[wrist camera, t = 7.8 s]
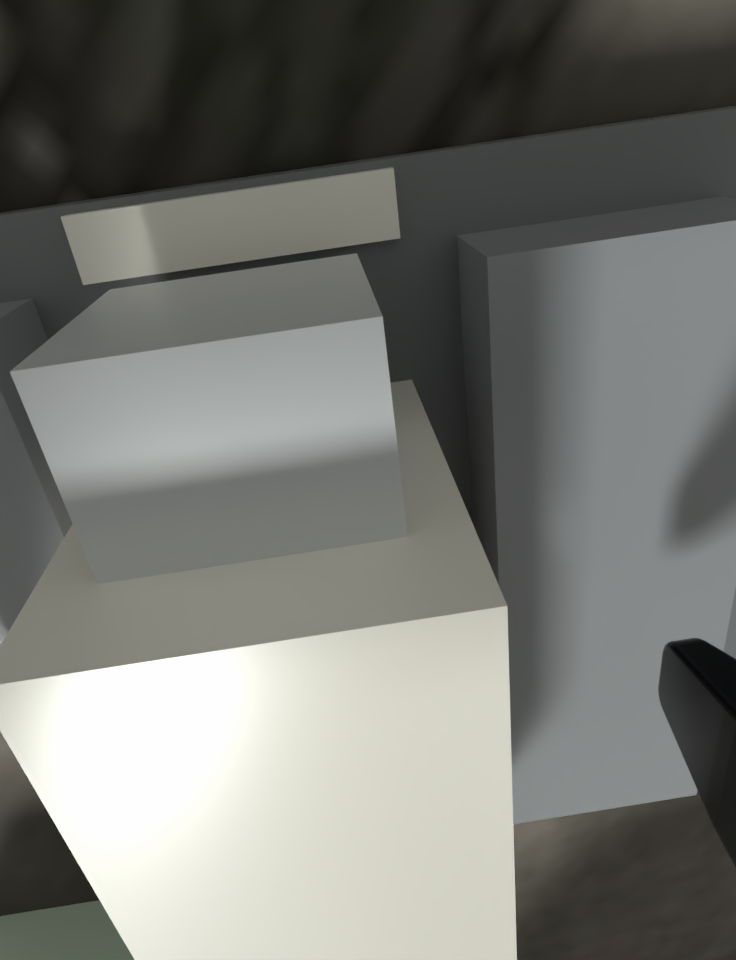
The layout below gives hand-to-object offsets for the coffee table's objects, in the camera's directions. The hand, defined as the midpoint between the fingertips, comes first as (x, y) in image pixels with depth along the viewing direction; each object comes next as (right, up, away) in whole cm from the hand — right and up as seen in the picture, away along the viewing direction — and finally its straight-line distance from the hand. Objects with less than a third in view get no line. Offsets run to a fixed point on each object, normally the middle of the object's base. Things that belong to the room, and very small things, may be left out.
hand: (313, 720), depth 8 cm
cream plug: (0, +2, +3) cm, 3 cm away
